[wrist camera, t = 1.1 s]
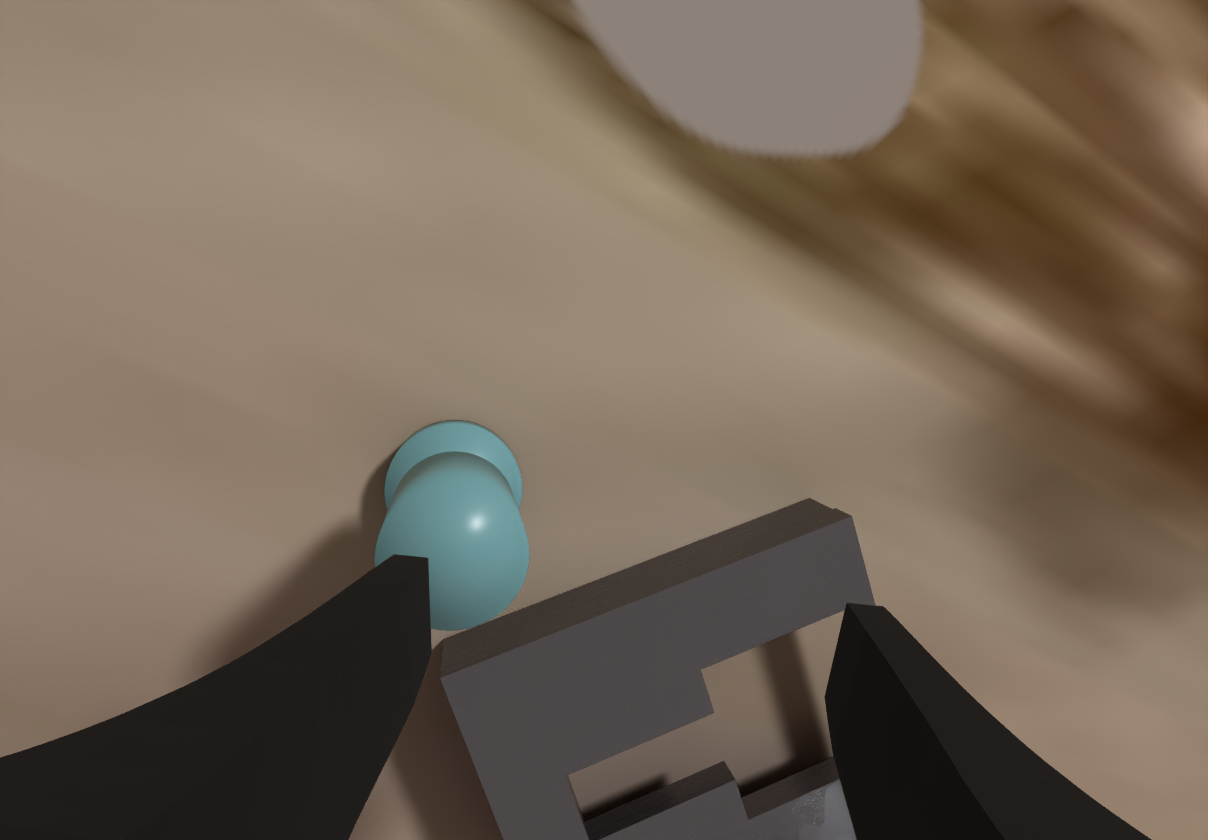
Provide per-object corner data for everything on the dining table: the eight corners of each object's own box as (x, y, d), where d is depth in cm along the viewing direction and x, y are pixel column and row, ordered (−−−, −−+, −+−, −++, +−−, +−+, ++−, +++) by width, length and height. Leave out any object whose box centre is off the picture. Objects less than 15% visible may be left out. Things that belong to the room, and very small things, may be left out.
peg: (414, 565, 23) (394, 676, 15) (368, 445, 22) (324, 504, 15) (536, 520, 23) (571, 607, 16) (495, 402, 23) (513, 438, 15)
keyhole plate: (551, 919, 25) (562, 991, 22) (442, 636, 23) (439, 678, 20) (883, 768, 27) (931, 818, 24) (808, 495, 25) (851, 516, 22)
